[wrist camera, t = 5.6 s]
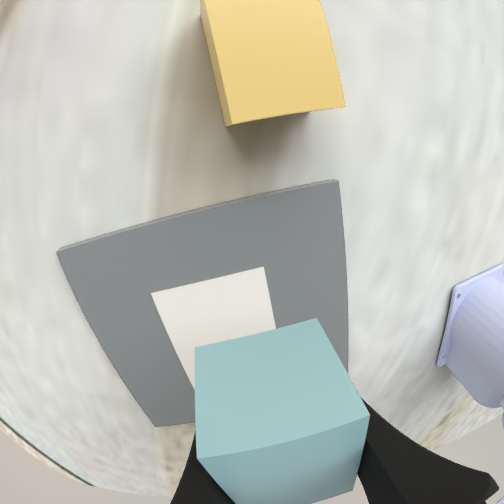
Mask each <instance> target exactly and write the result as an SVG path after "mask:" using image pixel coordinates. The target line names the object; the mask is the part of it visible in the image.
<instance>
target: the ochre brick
mask: <svg viewBox="0 0 504 504" xmlns="http://www.w3.org/2000/svg"><path fill="white" fill-rule="evenodd" d="M200 14H201V19H202V24H203V28H204V33H205V37H206V42H207V46H208V51H209V55H210V60H211V64H212V68H213V73H214V77H215V82H216V86H217V91H218V95H219V100H220V104H221V109H222V113H223V118H224V122H225V127H227V126H231V125H236V124H241V123H246V122H251V121H256V120H261V119H267V118H273V117H279V116H285V115H291V114H298V113H305V112H312V111H319V110H326V109H333V108H341V107H346V105H345V100H344V95H343V90H342V85H341V80H340V75H339V70H338V66H337V62H336V57H335V53H334V49H333V45H332V41H331V37H330V33H329V29H328V26H327V22H326V19H325V15H324V12H323V8H322V5H321V2H320V0H200Z"/></svg>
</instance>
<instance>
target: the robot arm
mask: <svg viewBox="0 0 504 504" xmlns="http://www.w3.org/2000/svg"><path fill="white" fill-rule="evenodd" d="M436 365H437V366H438V367H441V366H443V365H446V366H447V367H448V368H449V369H450V370H451V372H452V373H453V374H454V375H455V376H456V378H457V379H458V380H459V381H460V382H461V384H462V385H463V386H464V387H465V388H466V390H467V391H468V392H469V393H470V395H471V396H472V397H473V398H474V399H475V400H476V401H477V402H478V403H479V404H481V405H483V406H486V407H489V408H499V407H503V409H504V263H502V264H500V265H498V266H496V267H494V268H492V269H490V270H488V271H486V272H484V273H482V274H480V275H477V276H475V277H473V278H471V279H469V280H467V281H464V282H462V283H460V284H458V285H456V286H455V287H454V289H453V293H452V298H451V304H450V309H449V314H448V319H447V323H446V328H445V332H444V336H443V340H442V344H441V348H440V352H439V356H438V359H437V363H436ZM361 399H362V398H361ZM362 401H363V403H364V404H365V406H366V408H367V410H368V412H369V414H370V418H369V424H368V429H367V434H366V438H365V443H364V448H363V452H362V456H361V460H360V465H359V469H358V472H357V474H358V476H359V478H360V481H361V483H362V485H363V487H364V490H365V493H366V496H367V499H368V502H369V504H486V502H485V500H487V499H488V498H489V497H491V496H492V495H493V494H494V493H496V492H497V491H498V490H499V486H498V485H497V483H496V482H495V480H494V479H493V478H492V477H491V476H490V475H489V474H488V473H486V472H482V471H478V470H475V469H472V468H468V467H465V466H463V465H460V464H457V463H454V462H452V461H450V460H448V459H446V458H444V457H441V456H439V455H437V454H435V453H433V452H431V451H429V450H428V449H426V448H424V447H422V446H421V445H419V444H417V443H416V442H414V441H413V440H411V439H410V438H408V437H407V436H405V435H404V434H403V433H401V432H400V431H399V430H397V429H396V428H395V427H393V426H392V425H391V424H390V423H388V422H387V421H386V420H385V419H384V418H382V417H381V416H380V415H379V414H378V413H377V412H376V411H374V410H373V409H372V408H371V407H370V406H369V405H368V404H367V403H366V402H365V401H364V400H363V399H362ZM502 422H503V428H504V412H503V417H502ZM170 504H235V502H234V501H233V500H232V499H231V498H230V497H229V496H228V495H227V494H226V493H225V491H224V490H223V489H222V488H221V487H220V486H219V485H218V483H217V482H216V481H215V480H214V479H213V478H212V476H211V475H210V474H209V473H208V472H207V470H206V469H205V468H204V467H203V465H202V464H201V463H200V462H199V460H198V459H197V451H196V431H195V435H194V439H193V443H192V447H191V450H190V454H189V457H188V460H187V463H186V467H185V470H184V472H183V475H182V478H181V480H180V483H179V485H178V488H177V490H176V493H175V495H174V497H173V499H172V501H171V503H170ZM496 504H504V497H502V498H501V499H500V500H499V501H497V503H496Z"/></svg>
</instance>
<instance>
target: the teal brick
mask: <svg viewBox="0 0 504 504" xmlns="http://www.w3.org/2000/svg"><path fill="white" fill-rule="evenodd" d="M369 418H370V414H369V412H368V410H367V408H366V406H365V404H364V403H363V401H362V399H361V397H360V395H359V393H358V391H357V390H356V388H355V386H354V384H353V382H352V380H351V379H350V377H349V375H348V373H347V371H346V370H345V368H344V366H343V364H342V362H341V360H340V359H339V357H338V355H337V353H336V351H335V350H334V348H333V346H332V344H331V343H330V341H329V339H328V337H327V335H326V334H325V332H324V330H323V328H322V327H321V325H320V323H319V321H318V319H317V318H314V319H311V320H307V321H304V322H300V323H296V324H292V325H289V326H285V327H281V328H277V329H273V330H269V331H265V332H261V333H257V334H253V335H249V336H245V337H240V338H236V339H232V340H227V341H222V342H218V343H213V344H208V345H204V346H199V347H195V424H196V451H197V459H198V460H199V462H200V463H201V464H202V465H203V467H204V468H205V469H206V470H207V472H208V473H209V474H210V475H211V476H212V478H213V479H214V480H215V481H216V482H217V483H218V485H219V486H220V487H221V488H222V489H223V490H224V491H225V493H226V494H227V495H228V496H229V497H230V498H231V499H232V500H233V501H234V502H235V504H311V503H315V502H318V501H321V500H325V499H328V498H331V497H334V496H337V495H340V494H343V493H346V492H349V491H352V490H353V487H354V484H355V480H356V476H357V472H358V469H359V465H360V460H361V456H362V452H363V448H364V443H365V438H366V434H367V429H368V424H369Z"/></svg>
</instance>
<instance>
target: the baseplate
mask: <svg viewBox="0 0 504 504" xmlns="http://www.w3.org/2000/svg"><path fill="white" fill-rule="evenodd" d="M56 254H57V256H58V258H59V261H60V263H61V266H62V268H63V270H64V273H65V275H66V277H67V279H68V282H69V284H70V286H71V288H72V290H73V292H74V295H75V297H76V299H77V301H78V303H79V305H80V307H81V309H82V311H83V313H84V315H85V317H86V319H87V321H88V322H89V324H90V326H91V328H92V330H93V332H94V334H95V335H96V337H97V339H98V341H99V342H100V344H101V346H102V348H103V349H104V351H105V353H106V355H107V356H108V358H109V360H110V361H111V363H112V364H113V366H114V368H115V369H116V371H117V372H118V374H119V376H120V377H121V379H122V380H123V382H124V383H125V385H126V386H127V388H128V389H129V391H130V392H131V394H132V395H133V397H134V398H135V400H136V401H137V402H138V404H139V405H140V407H141V408H142V409H143V411H144V412H145V414H146V415H147V416H148V418H149V419H150V420H151V422H152V423H153V424H154V426H155V427H160V426H169V425H177V424H185V423H192V422H195V347H199V346H204V345H208V344H213V343H218V342H222V341H227V340H232V339H236V338H240V337H245V336H249V335H253V334H257V333H261V332H265V331H269V330H273V329H277V328H281V327H285V326H289V325H292V324H296V323H300V322H304V321H307V320H311V319H314V318H317V319H318V321H319V323H320V325H321V327H322V328H323V330H324V332H325V334H326V335H327V337H328V339H329V341H330V343H331V344H332V346H333V348H334V350H335V351H336V353H337V355H338V357H339V359H340V360H341V362H342V364H343V366H344V368H345V370H346V371H347V373H348V294H347V272H346V255H345V241H344V228H343V217H342V207H341V197H340V188H339V181H338V180H335V179H332V180H327V181H321V182H316V183H311V184H306V185H301V186H296V187H291V188H286V189H282V190H277V191H272V192H268V193H263V194H258V195H254V196H249V197H245V198H241V199H236V200H232V201H228V202H224V203H219V204H215V205H211V206H207V207H203V208H199V209H195V210H191V211H187V212H183V213H179V214H176V215H172V216H168V217H164V218H160V219H157V220H153V221H149V222H146V223H142V224H139V225H135V226H132V227H128V228H125V229H121V230H118V231H114V232H111V233H107V234H104V235H101V236H97V237H94V238H91V239H88V240H84V241H81V242H78V243H75V244H72V245H69V246H65V247H62V248H60V249H59V250H58V251H57V252H56Z"/></svg>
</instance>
